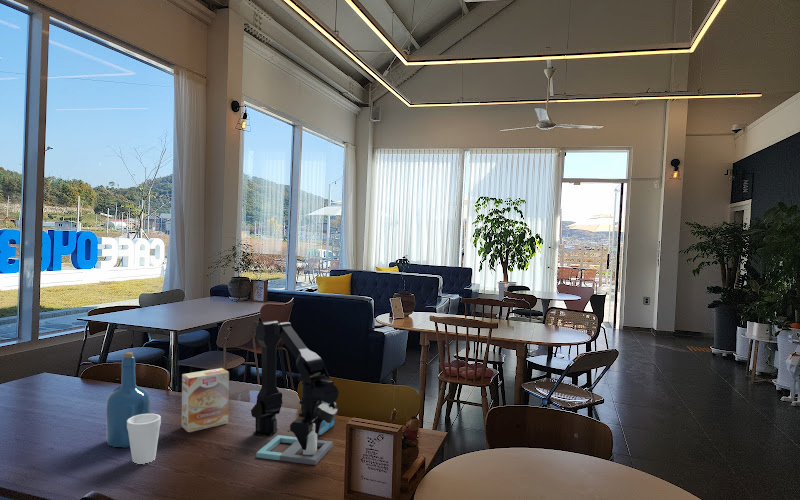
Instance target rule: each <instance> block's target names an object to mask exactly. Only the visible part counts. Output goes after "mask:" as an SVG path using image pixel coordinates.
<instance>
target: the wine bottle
mask: <svg viewBox="0 0 800 500" xmlns="http://www.w3.org/2000/svg"><path fill="white" fill-rule="evenodd" d="M136 367H137V365H136V357H135V356H134V353H133V352H132V351H128V352H124V354H123V356H122V359H121V366H120V368H121V378H120V379H121V385H119V386H118V387H116V388H115V389H113V390H112V392H110V394H109V395H108V397H107V399H106V415H105V416H106V418H105V419H106V421H105V422H106V423H105V424H106V443H107V445H108V446H109V445H110V446H109V447H111V446H113V447H112V448H114V447H123V448H124V449H125V448H130V441H129V435H128V429H127V420H128V419H129V418H131V417H133V416H136V415H140V414H151V397H150V394H149V392H148V391H147V390H146V389H145V388H143V387H141V386H140V387H139V386H138V385H137V384H136V383H137V380H136Z"/></svg>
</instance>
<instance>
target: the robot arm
mask: <svg viewBox="0 0 800 500" xmlns="http://www.w3.org/2000/svg"><path fill="white" fill-rule="evenodd" d="M255 333H256V340H257V342H258V344H259V345H260V347H261V388H260V389H259V392H258V393H257V396H256V403H255V404H254V405H253V407H252V408H251V410H250V413H251V417H252V418H255V430H254V431H253V433H252V434H253V435H257V436H265V437H270V436H272V435H273V434H274V433H275V432H277V431H278V428H277V427H278V422H277V421H278V419H277V418H276V417H277V416H276V415H279V414H280V412H281V409H282V405H283V393H282V392H281V391H280V390H279V389H278V388H277V346H278V345H279V344H278V343H279V342H280V340H282V342H283V344H284V345H285V347H287V349H288V350H289V351H290V353H291V355H292V356H293V357H294V359H295V367H296V368H297V371H298V373H299V374H300V376H299V377H298V378H297V380H298V381H299V382H301V399H300V400H299V405H301V411H300V412H299V417H300V418H296V419H295V420H293V421H292V422H291V423H290V424H289V431H290V432H291V433H293V434H294V435H295V436H294V437H297V439H298V441H299V443H300V445H301V447H302V449H303V450H306V448H307V442H308V435H309V433H310V432H311V431H313V430H312V427H313V423H315V433H317V439H318V437H319V435H318V434H319V431H320V427H321V424H322V421H323V420H324V421H326V422H327V423H331V422H332V421H333V420H334V418H336V415H337V414H338V412H339V411H338V409H339V408H338V406H337V403H336V401H337V400H338V398H339V394H340V393H339V388H338V387H337V386H336V385H335V382H334V380H333V381H332V380H329V379H330V378H331V377H330V375H329V371H328V370H327V368H326V366H325V363H324V360H323V359H322V358H321V356H319V355H318V354H317V353H316V352H314V351H312V350H310V349H309V348H308V347H307V346H306V344H305V343H304V342H303V340H302V339H301V338H300V337H299V335H298V334H297V332H296V331H295V330H294V328H293V327H292V323H291V322H289V321H283V322H279V321H278V320H276V319H275V320H269V321H261V322H259V323H258V324H257V325H256V327H255ZM323 402H325V403H328V404H330V405H328V404H326V405H325V404H323ZM334 402H335V403H334Z"/></svg>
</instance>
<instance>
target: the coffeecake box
mask: <svg viewBox="0 0 800 500" xmlns="http://www.w3.org/2000/svg"><path fill="white" fill-rule="evenodd" d="M229 384H230V371H228V370H227V369H225V368H223V367H219V368H214V369H206V370H201V371H194V372H193V371H192V372H189V373H182V374H181V428H183V429H184V430H185V431H186V432H187V433H188V432H189V433H193V432H196V431H200V430H204V429H208V428H213V427H218V426H223V425H226V424H229V402H230V401H229V398H230V397H229V393H230V392H229V391H230V390H229V388H230V386H229Z"/></svg>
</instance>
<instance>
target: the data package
mask: <svg viewBox="0 0 800 500" xmlns="http://www.w3.org/2000/svg"><path fill="white" fill-rule="evenodd" d="M334 403H336V401H335V402H334ZM323 404H325V405H326V404H328V403H325V402H323ZM328 405H330V404H328ZM335 418H336V417H335ZM335 418H334V420H333V421H332V422H331V423H327V422H326V421H324V420H323V421H322V424H321V427H320V431H319V434H318V436H321V435H323V434H325V432H327V431H329V430H330V429H331V428H332V427H334V426H335V423H336V422H335V421H336V420H335Z"/></svg>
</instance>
